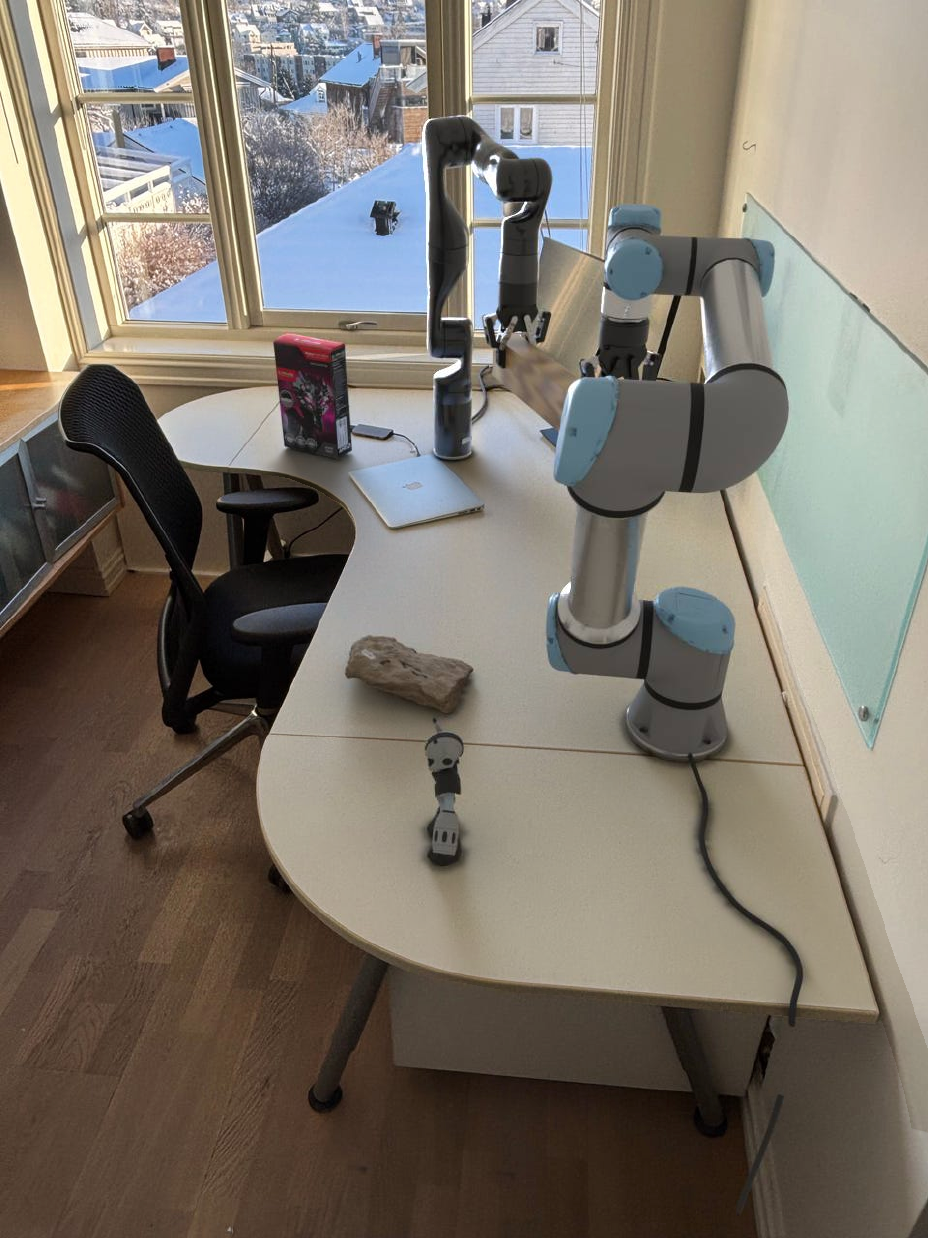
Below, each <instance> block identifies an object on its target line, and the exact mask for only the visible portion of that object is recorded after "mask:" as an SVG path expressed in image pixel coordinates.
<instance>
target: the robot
mask: <svg viewBox="0 0 928 1238" xmlns="http://www.w3.org/2000/svg"><path fill="white" fill-rule="evenodd" d="M432 723H433V725H434V728H435V731H436V733H434V734H432V735H431V736H430V737H429V738H428V739H426V742H425V745H424V747H423V749H424V752H425V753H424V755H425V757H426V758H427V769H428V770H429V771H430V772H431V776H432V779H433V780H434V782H435V783H434V797H435V798H436V800H437V803H438V805H439V806H438V808H437V810H436V811H435V814H434V817H433V819H432V820H431V821H430V822H429V823H428V825H427V827H426V830H427V833H428V835H429V837H430V838H432V841H431V846H430V847H429V850H428V852H427V858H428V860H430V861H431V862H432V864H434V865H437V866H441V867H442V866H448V865H450V864H453V863H455V862H457V861H459V860H460V856H461V854H462V846H461V841H460V837H459V836H460V833H461V830H460V820H459V815H458V813H456V811H455V807H454V805H455V803H456V795H457V796H459V795H462V782H461V781H462V780H461V776H460V774H459V769H458V768H459V767H458V765H459V764H460V758H462V755H463V754H464V749H465V746H464V745H465V744H464V741H463V739H462V738H461V737H460V736H459V734H457V733H455V732H453V731H451V730H443V729H442V727H441V725H440V723H439V721H438V720H437V718H436V717H433V718H432Z"/></svg>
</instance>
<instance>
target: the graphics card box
mask: <svg viewBox="0 0 928 1238" xmlns="http://www.w3.org/2000/svg"><path fill="white" fill-rule="evenodd" d="M272 344H273V345H272V346H273V349H274V350H273V353H274V361H275V362H274V363H275V371H276V380H277V381H276V382H277V390H278V398H279V399H278V400H279V408H280V417H281V418H280V419H281V428H282V435H283V436H282V437H283V446H284V447H285V448H289V449H294V450H298V451H302V452H306V453H311V454H315V455H319V456H323V457H328V458H333V459H336V460H338V459H339V460H340V458H342V457H344V456H346V455H347V454H349V453H350V452H352V451H353V446H352V429H351V415H350V402H349V401H350V400H349V385H348V370H347V356H346V343H345V342H339V341H338V342H337V341H333V340H327V339H321V338H317V337H311V336H305V335H300V334H295V333H289V332H288V333H285V334H282V335H280V336H279V337H277V338H276V339H274V340H273V342H272Z"/></svg>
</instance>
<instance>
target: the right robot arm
mask: <svg viewBox="0 0 928 1238" xmlns="http://www.w3.org/2000/svg"><path fill="white" fill-rule="evenodd" d="M662 215H663V214H662V210H661V209H660V208H659V207H657V206H655V205H651V204H650V205H649V204H644V203H621V204H617V205H615V206H613V207H612V208H611V209H610V212H609V217H608V224H607V228H606V233H607V234H606V244H605V245H606V246H605V256H604V257H605V259H604V273H603V284H602V292H601V293H602V294H601V295H602V296H601V305H600V312H601V314H602V315H601V317H600V318H599V326H598V336H597V338H598V339H597V340H598V347H597V349H596V351H595V353H594V356H592V357H589V358H587V359H586V358H580V360H579V361H578V365H579V370H580V378H579V379H578V380H576V381H575V382H573V384H572V385H571V386H570V388H569V390H568V393H567V396H566V399H565V403H564V407H563V412H562V417H561V424H560V430H559V432H558V436H557V438H556V439H557V440H556V445H555V453H554V454H555V455H554V459H553V461H554V462H553V471H552V472H553V479H554V481H555V482H556V483H558V484H561V485H563V486H565V487H566V489H567V492H568V494H569V496H570V498H571V499H572V501H573V502H574V503H575V504H576V508H575V521H574V533H573V544H572V545H573V546H572V559H571V571H570V581H569V583H568V584H567V585H566V586H564V588H563V589H562V591H560V592H555V593H553V594H552V595H551V596H550V597H549V599H548V604H547V610H546V621H545V623H546V625H545V626H546V627H545V633H546V634H545V635H546V653H547V659H548V663H549V665H550V666H551V667H552V669H554V670H555V671H557V672H564V673H568V674H572V675H587V676H599V677H610V678H611V677H612V678H622V679H635V680H643V682H642V684H641V685H640V688H639V689H638V691H637V692H636V694H635V695H634V697H633V699H632V701H631V702H630V704H629V706H628V708H627V711H626V719H625V728H626V732H627V734H628V736H629V738H630V739H631V741H632V742H634V744H636V745H637V746H638V747H639V748H640V749H641V750H643V751H645V752H646V753H648V754H650V755H651V756H654V757H656V758H659V759H662V760H666V761H670V762H675V763H689V764H690V766H691V770H692V773H693V776H694V779H695V782H696V784H697V787H698V789H699V791H700V794H701V799H702V817H701V822H700V826H699V831H698V843H699V849H700V851H701V855H702V859H703V861H704V864H705V866H706V869H707V871H708V873H709V874H710V877H711V878H712V880H713V881H714V883H715V884H716V886H717V888H718V889H719V890H720V891H721V893H722V894H723V895H724V897H725V898H726V899H727V901H728V902H729V903H730V904H731V905H732V906H733V907H734V908H735V909H736V910H737V911H738V912H739V913H741V914H742V915H743V916H744V917H745V918H747V919H748V920H750V921H752V922H753V923H755V925H757V926H759V927H761V929H764V930H765V931H766V932H768V933H770V934H771V935H772V936H774V937H775V938H776V940H778V941H780V942H781V944H782V945H783V946H784V947H785V948H786V949H787V951H788V952H789V954H790V956H791V957H792V960H793V962H794V966H795V981H794V984H793V988H792V992H791V995H790V998H789V999H790V1000H789V1006H788V1007H789V1008H788V1015H787V1016H788V1017H787V1024H788V1026H789V1027H790V1028H795V1026H796V1017H797V1016H796V1014H797V1006H798V1001H799V996H800V992H801V989H802V988H801V987H802V984H803V979H804V969H803V964H802V961H801V958H800V956H799V953H798V952H797V950H796V949H795V947H794V946H793V944H792V943H791V942H790V941H789V939H787V937H785V935H783V934H782V933H781V932H780V931H779V930H777V929H776V928H774V927H773V926H771V925H770V924H769V923H768V922H766V921H764V920H763V919H761V918H759V917H758V916H756V915H755V914H754V913H752V912H751V911H749V910H748V909H746V908H745V907H744V906H743V905H742V904H741V903H739V902H738V900H737V899H736V898H735V897H734V895H733V894H732V893H731V892H730V891H729V890H728V889H727V887H726V886H725V885H724V883H723V882H722V880H721V879H720V877H719V876H718V873H717V872H716V871H715V869H714V867H713V864H712V862H711V860H710V856H709V853H708V850H707V846H706V841H705V839H706V838H705V837H706V828H707V824H708V818H709V811H710V810H709V809H710V807H709V806H710V805H709V798H708V794H707V792H706V789H705V786H704V784H703V781H702V778H701V776H700V773H699V770H698V767H697V764H696V762H700V761H703V760H706V759H709V758H711V757H714V755H716V754H718V752H720V751H721V750H722V748H723V747H724V744H725V743H726V740H727V739H726V738H727V734H728V721H727V716H726V712H725V708H724V707H725V706H724V701H723V692H724V686H725V682H726V678H727V672H728V668H729V664H730V659H731V654H732V651H733V649H734V646H735V632H736V620H735V617H734V614H733V612H732V610H731V609H730V608H729V607H728V605H726V603H724V602H723V601H722V600H720V599H718V598H717V596H714V595H713V594H711V593H708V592H707V591H704V590H701V589H698V588H693V587H688V586H671V587H670V588H665V589H662V590H661V591H659V592H658V593H657V595H656V597H655V598H654V600H646V599H639V597H638V595H637V594H636V592H635V591H634V590H635V585H636V579H637V574H638V569H639V563H640V558H641V553H642V548H643V543H644V537H645V530H646V526H647V521H648V516H649V512H651V511H653V510H654V509H655V508H656V507H657V506H658V505H659V504H660V503H661V502H662V500H663V498H664V497H665V494H666V492H671V493H686V494H709V493H716V492H720V491H723V490H727V489H729V488H731V487H734V486H736V485H738V484H740V483H741V482H743V481H744V480H746V479H748V478H750V476H752V475H753V474H755V473H756V472H757V471H758V470H759V469H760V468H762V466H763V465H764V464H765V463H766V462H768V460H769V459H770V458H771V456H772V455H773V454H774V452H775V451H776V450H777V448H778V446H779V444H780V442H781V440H782V438H783V436H784V434H785V431H786V428H787V425H788V420H789V411H790V405H789V402H790V401H789V396H788V390H787V386H786V385H787V384H786V383H785V381H784V379H783V377H782V376H781V375H780V373H778V371H776V370H775V369H774V365H773V358H772V351H771V346H770V340H769V335H768V334H769V333H768V326H767V320H766V313H765V308H764V307H765V306H764V301H763V298H765V297H766V296H767V295H768V293H769V292H770V289H771V285H772V281H773V278H774V271H775V264H776V260H775V256H776V251H775V250H776V249H775V247H774V246H775V245H774V244H773V243H772V242H771V241H769V240H767V239H766V240H764V239H755V238H751V237H744V236H743V237H711V236H710V237H709V236H708V237H706V236H683V235H681V236H680V235H661V233H662ZM654 295H657V296H658V295H661V296H682V297H683V296H684V297H699V299H700V312H701V326H702V327H701V328H702V329H701V330H702V342H703V355H704V358H703V359H704V373H705V375H704V377H705V381H704V382H689V381H671V380H670V381H669V380H668V381H667V380H657V376H658V370H659V367H660V364H661V362H662V360H663V356H662V355H661V354H660V353H657V352H656V351H654V350H648V347H647V342H648V340H649V333H650V325H651V324H650V323H651V320H650V319H649V317H650V316H651V314H652V309H653V297H654ZM642 364H643V365H642ZM598 365H599V367H600V370H599V374H598V377H597V376H596V373H597V372H598V369H597V368H598ZM641 365H642V370H641V372H642V373H641V379H640V372H639V368H640V366H641ZM784 1099H785V1095H782V1094H778V1093H777V1094H776V1098H775V1102H774V1104H773V1105H774V1106H773V1108H772V1111H771V1115H770V1118H769V1121H768V1124H767V1126H766V1130H765V1133H764V1135H763V1138H762V1141H761V1142H760V1145H759V1149H758V1151H757V1154H756V1156H755V1159H754V1161H753V1163H752V1166H751V1168H750V1171H749V1174H748V1176H747V1179H746V1182H745V1184H744V1186H743V1189H742V1191H741V1194H740V1198H739V1200H738V1203H737V1207H736V1209H735V1211H736V1213H737V1214H738V1215H741V1214H742V1213H743V1210H744V1207H745V1204H746V1201H747V1198H748V1196H749V1193H750V1190H751V1189H752V1186H753V1183H754V1180H755V1178H756V1176H757V1173H758V1171H759V1168H760V1166H761V1163H762V1160H763V1158H764V1156H765V1153H766V1151H767V1148H768V1146H769V1143H770V1141H771V1139H772V1135H773V1133H774V1129H775V1127H776V1124H777V1122H778V1118H779V1115H780V1112H781V1109H782V1106H783V1102H784Z"/></svg>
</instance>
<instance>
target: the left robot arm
mask: <svg viewBox="0 0 928 1238" xmlns="http://www.w3.org/2000/svg"><path fill="white" fill-rule="evenodd" d="M422 130H423V131H422V157H423V172H424V181H425V182H424V183H425V193H426V194H425V195H426V197H425V198H426V267H427V268H426V269H427V270H426V271H427V292H428V293H427V315H426V317H427V318H426V350H427V353H428V355H429V357H430V358H431V359H433V360H457V361H456V362H454V363H453V364H452V365H450V366H448V367H446V368H443V369H440V370H438V371H436V373H435V374H434V375H433V454H434V456H435V457H437V458H439V459H442V460H446V461H459V460H464V459H467V458H469V457H470V456H471V455H472V439H473V437H472V422H473V421H474V420H475V419H477V418H479V417H480V415H481V414H482V413H483V412H484V410H485V408H486V406H487V401H488V398H487V397H488V396H487V390H486V387H485V385H484V381H483V379H482V375H483V373H485V371H486V370H488V369H489V365H490V364H488V365H486V366H485V367H483V368H482V369H481V370H480V371H479V373H478V375H477V377H478V381H479V383H480V387H481V390H482V394H483V403H482V406H481V407H480V409H479V410H478V411H477V412H476V413H474V415H473V416H472V410H473V409H472V407H473V396H472V395H473V356H474V355H473V353H474V342H475V341H474V339H475V337H474V336H475V331H474V330H475V329H474V325H473V321H472V320H471V319H470V318H468V317H442V315H443V314H442V313H443V311H444V308H445V305H446V303H447V301H448V299H449V297H450V296H451V294H452V292H453V291H454V289H455V288H456V287H457V285H458V283H459V282H460V281H461V279H462V277H463V276H464V274H465V273H466V271H467V268H468V266H469V262H470V232H469V228H468V226H467V224H466V222H465V220H464V218H463V217H462V215H461V214H460V212H459V211H458V209H457V207H456V206H455V204H454V202H453V201H452V199H451V197H450V194H449V191H448V189H447V184H446V170H448V169H449V170H450V169H456V168H464V167H467V166H471V167H472V171H473V173H474V175H475V176H476V178H477V179H479V180H480V181H481V182H482V183H484V184H485V185H487V186H489V187H490V188H491V190H492V193H493V195H494V196H495V198H496V199H497V200H498V201H499V202H501V203H505V204H518V203H519V204H520V203H524V204H523V206H522V207H521V210H520V211H519V212H517V213H515V214H513V215H509V216H507V217H505V218H504V219H503V220H502V222H501V230H500V231H501V232H500V255H499V261H498V276H497V277H498V279H497V280H498V281H497V286H498V287H497V308H496V310H495V311H494V313H491V314H483V315H482V316H481V321H482V326H483V327H482V328H483V331H484V332H483V333H484V337H485V342H486V344H487V345H488V346H490V348H492V349H493V348H496V364H497V365H498V366H499V367H500V368H501V369H504V368H505V365H506V350H505V347H506V344H507V342H508V340H509V339H510V337H511V334H513V333H518V332H519V333H522V334H523V336H524V337H523V338H524V339H525V340H527V341H528V342H529V343H531V344H532V345H534V346H535V347H536V346H537V345H538V344H540V343H541V344H543V343H544V342H545V341H546V337H547V333H548V329H549V326H550V322H551V319H552V312H551V311H549V310H548V309H546V308H542V309H539V308H538V305H537V303H538V295H539V276H540V257H539V254H540V253H539V252H540V234H541V233H540V231H541V227H542V226H541V225H542V223H543V219H544V216H545V212H546V208H547V206H548V203H549V199H550V196H551V192H552V188H553V180H554V179H553V172H552V171H553V170H552V169H551V165H550V164H549V162H548V161H546V159H544V158H541V157H528V158H520V157H519V156H518V154H517V153H515V152H514V151H513V150H512V149H509V148H508V147H506V146H504V145H501V144H500V143H498V142H496V141H495V140H494V139H493V138H492V137H491V136H490V135H489V134H488V133H487V131H486V130H484V128H482V126H481V125H480V124H479V123H478V122H477V121H476V120H474V118H472V117H470V116H468V115H453V116H443V117H436V118H431V119H428V120H427V121H426V122H425V124H424V126H423V129H422ZM536 319H537V324H536V328H535V331H534V328H533V323H534V321H535V320H536ZM497 321H498V322H499V327H498V330H497V335H498V336H497V339H496V337H495V335H496V332H495V326H496V324H497ZM490 369H492V370H493V366H492V367H490Z"/></svg>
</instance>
